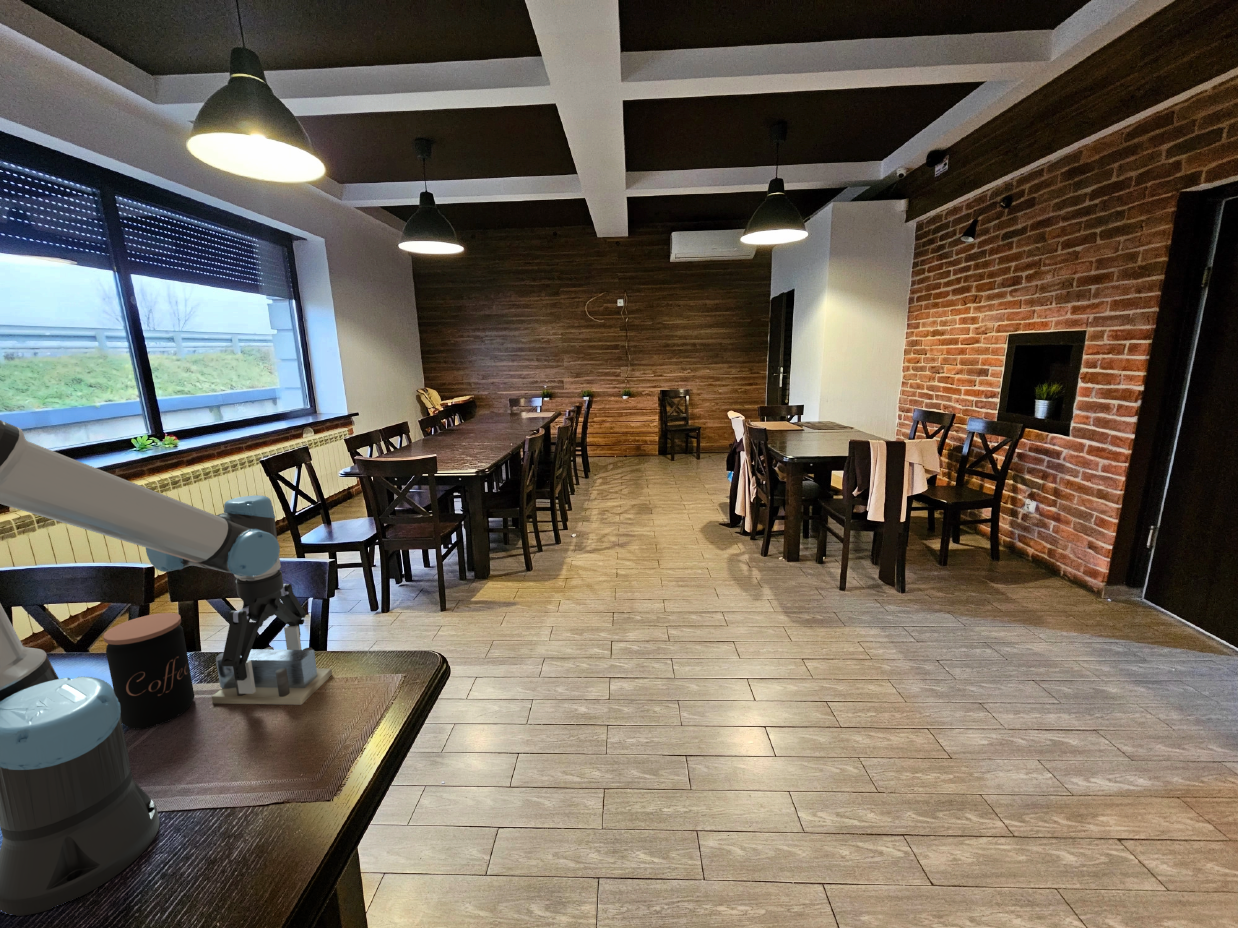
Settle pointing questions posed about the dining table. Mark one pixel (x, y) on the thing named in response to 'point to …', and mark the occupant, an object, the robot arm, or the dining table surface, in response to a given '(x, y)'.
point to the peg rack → (274, 690)
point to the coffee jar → (149, 669)
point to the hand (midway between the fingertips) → (272, 672)
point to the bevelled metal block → (273, 668)
